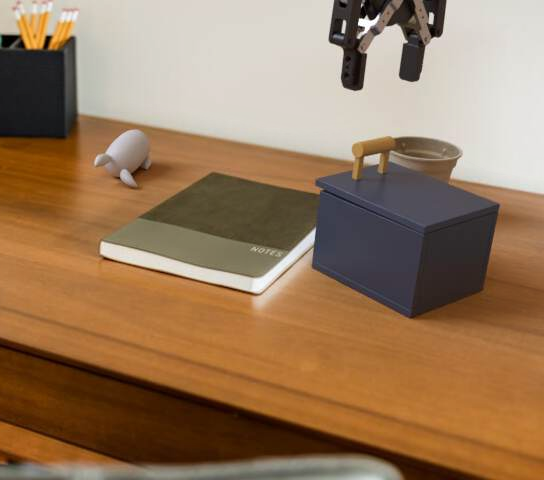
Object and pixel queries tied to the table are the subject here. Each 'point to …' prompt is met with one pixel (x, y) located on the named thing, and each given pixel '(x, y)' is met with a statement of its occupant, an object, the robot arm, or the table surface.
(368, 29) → the robot arm
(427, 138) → the flower pot
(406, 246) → the chest
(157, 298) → the table surface
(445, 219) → the lid
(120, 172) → the grey animal figurine
